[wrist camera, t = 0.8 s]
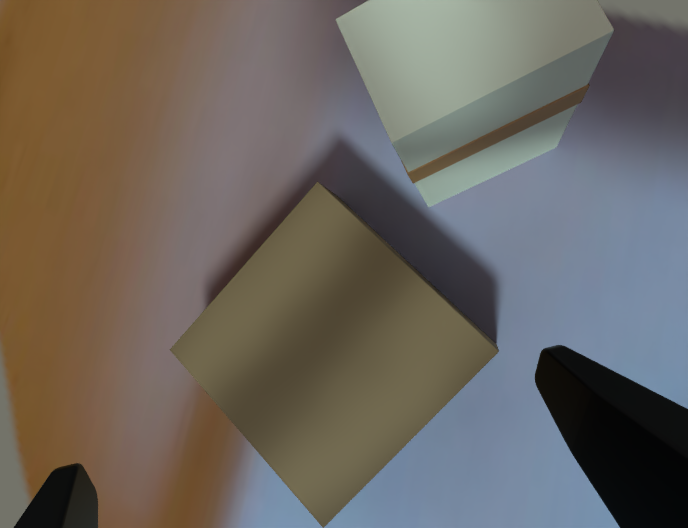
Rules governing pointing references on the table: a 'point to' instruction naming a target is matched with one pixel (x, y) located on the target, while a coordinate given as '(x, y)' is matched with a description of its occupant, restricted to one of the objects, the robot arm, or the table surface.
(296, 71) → the table surface
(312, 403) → the base
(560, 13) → the carton
